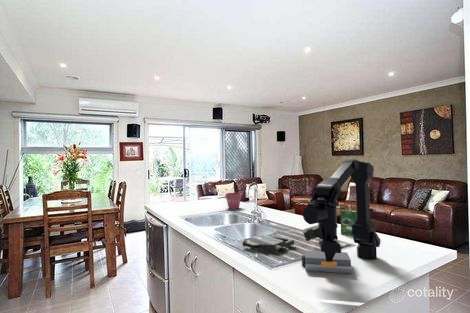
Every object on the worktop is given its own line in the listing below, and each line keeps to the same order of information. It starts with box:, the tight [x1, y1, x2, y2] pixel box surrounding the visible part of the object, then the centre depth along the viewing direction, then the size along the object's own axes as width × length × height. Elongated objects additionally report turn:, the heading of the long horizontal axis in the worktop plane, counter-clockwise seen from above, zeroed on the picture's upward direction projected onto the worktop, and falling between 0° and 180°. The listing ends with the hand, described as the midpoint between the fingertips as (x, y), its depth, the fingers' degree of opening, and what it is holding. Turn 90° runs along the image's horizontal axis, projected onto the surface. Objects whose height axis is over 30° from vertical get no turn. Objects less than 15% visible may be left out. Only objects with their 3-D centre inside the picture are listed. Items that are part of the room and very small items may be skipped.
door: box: [305, 261, 354, 274], centre depth 95 cm, size 16×1×8 cm
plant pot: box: [225, 192, 243, 210], centre depth 233 cm, size 14×14×13 cm
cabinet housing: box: [301, 250, 352, 267], centre depth 102 cm, size 17×8×5 cm, turn 76°
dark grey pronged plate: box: [241, 234, 295, 255], centre depth 127 cm, size 16×20×5 cm
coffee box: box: [340, 209, 357, 236], centre depth 145 cm, size 8×3×13 cm, turn 61°
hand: (328, 264), depth 93 cm, fingers closed, pressing on door
